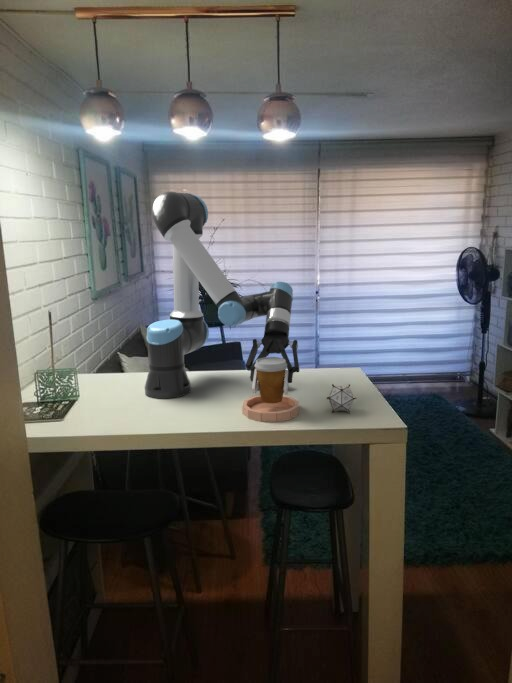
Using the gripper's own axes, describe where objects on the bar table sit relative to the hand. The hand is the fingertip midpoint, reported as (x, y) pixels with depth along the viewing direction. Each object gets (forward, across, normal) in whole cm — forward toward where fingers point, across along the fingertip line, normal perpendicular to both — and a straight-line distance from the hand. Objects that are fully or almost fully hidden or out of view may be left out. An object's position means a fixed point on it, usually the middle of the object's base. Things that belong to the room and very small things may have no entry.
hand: (269, 391), depth 146 cm
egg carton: (-12, +3, -23) cm, 26 cm away
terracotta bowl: (+3, 0, -8) cm, 8 cm away
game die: (+1, -20, -10) cm, 22 cm away
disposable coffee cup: (0, 0, -5) cm, 5 cm away
